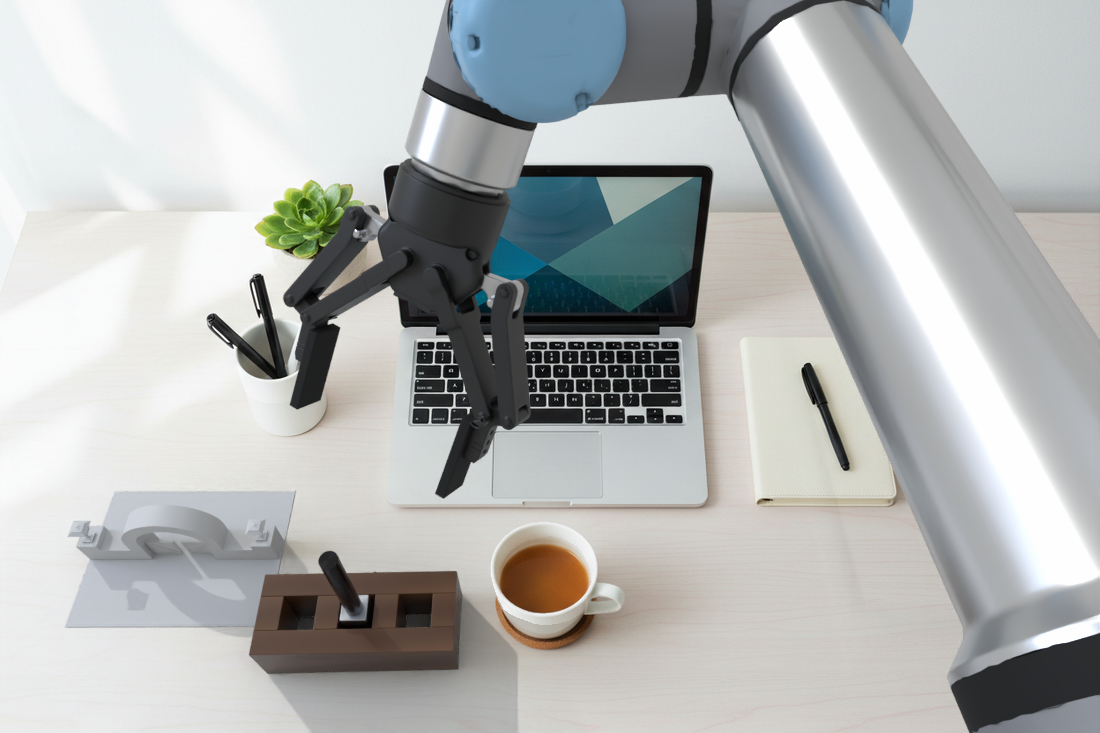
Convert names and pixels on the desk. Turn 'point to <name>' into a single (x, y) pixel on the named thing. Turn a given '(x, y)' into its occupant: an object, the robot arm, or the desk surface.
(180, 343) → the desk surface
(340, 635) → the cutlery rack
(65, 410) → the desk surface
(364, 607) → the rod topped stamp
